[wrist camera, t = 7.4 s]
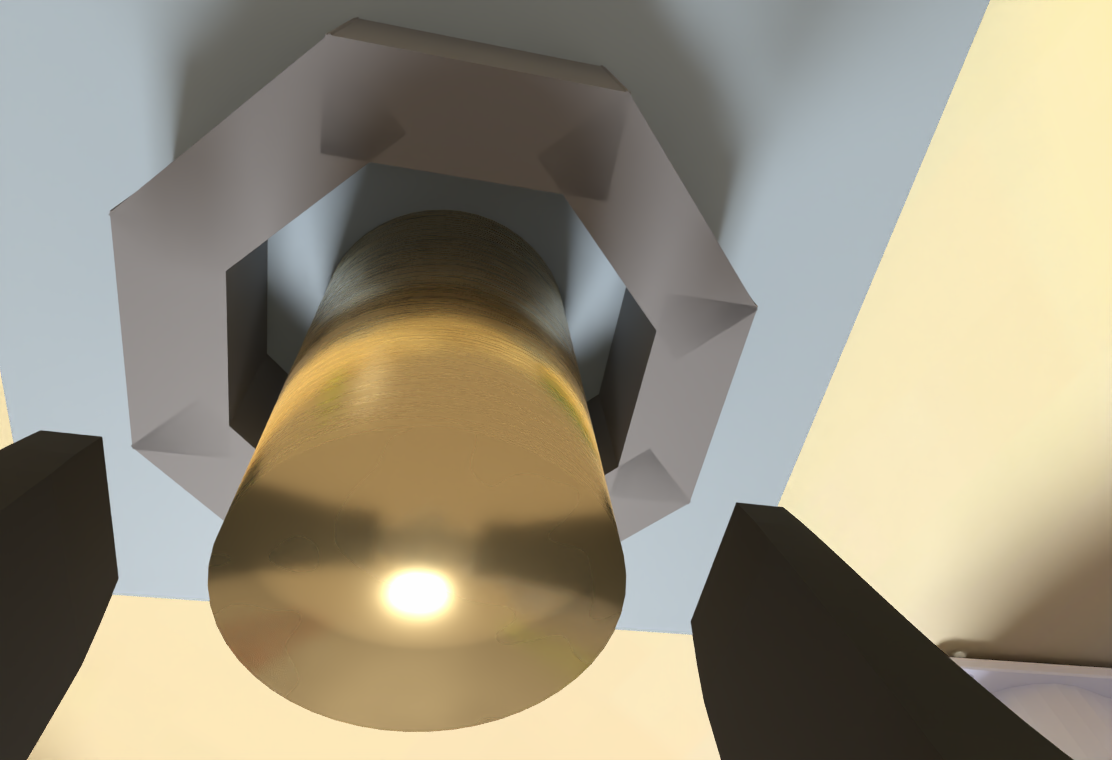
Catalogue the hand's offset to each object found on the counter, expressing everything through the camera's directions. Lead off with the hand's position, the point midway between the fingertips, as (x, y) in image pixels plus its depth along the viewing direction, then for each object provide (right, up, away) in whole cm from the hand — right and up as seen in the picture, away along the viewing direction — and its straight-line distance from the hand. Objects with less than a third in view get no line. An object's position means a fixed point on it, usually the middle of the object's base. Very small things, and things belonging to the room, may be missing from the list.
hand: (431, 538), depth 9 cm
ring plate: (-1, +4, +6) cm, 7 cm away
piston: (-1, +3, +5) cm, 6 cm away
